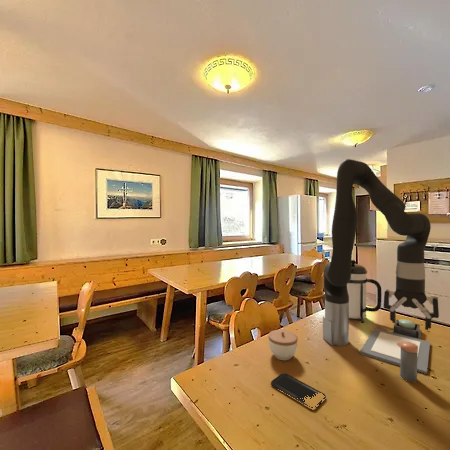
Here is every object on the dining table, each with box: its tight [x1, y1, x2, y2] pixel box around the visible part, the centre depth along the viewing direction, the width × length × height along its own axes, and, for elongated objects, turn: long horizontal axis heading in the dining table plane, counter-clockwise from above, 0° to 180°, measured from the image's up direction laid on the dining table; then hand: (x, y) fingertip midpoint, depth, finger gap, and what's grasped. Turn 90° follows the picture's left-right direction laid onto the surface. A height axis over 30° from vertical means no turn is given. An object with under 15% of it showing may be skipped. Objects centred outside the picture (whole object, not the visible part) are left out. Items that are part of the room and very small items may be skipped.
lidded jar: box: [268, 329, 299, 361], centre depth 96 cm, size 11×11×9 cm
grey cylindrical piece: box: [399, 341, 418, 383], centre depth 82 cm, size 5×5×11 cm
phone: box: [270, 372, 327, 408], centre depth 77 cm, size 8×1×15 cm
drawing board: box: [359, 327, 431, 375], centre depth 100 cm, size 26×20×1 cm
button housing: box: [391, 319, 422, 339], centre depth 114 cm, size 10×10×3 cm
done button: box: [398, 318, 416, 330], centre depth 114 cm, size 6×6×2 cm
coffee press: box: [347, 259, 383, 324], centre depth 130 cm, size 17×16×30 cm
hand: (409, 325), depth 82 cm, fingers open, 8 cm apart
